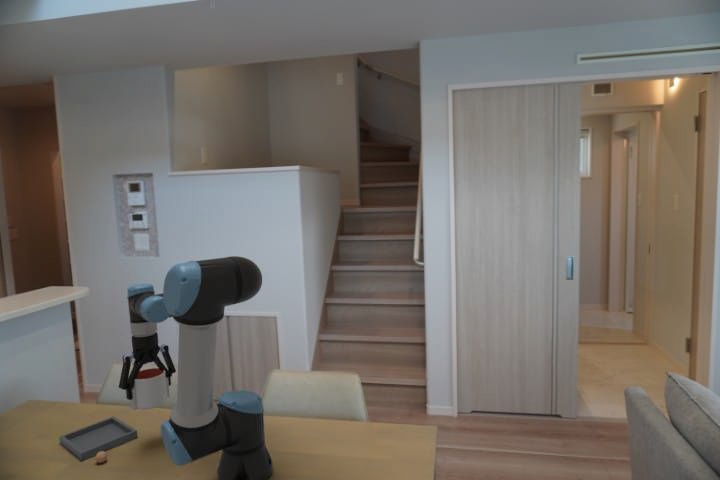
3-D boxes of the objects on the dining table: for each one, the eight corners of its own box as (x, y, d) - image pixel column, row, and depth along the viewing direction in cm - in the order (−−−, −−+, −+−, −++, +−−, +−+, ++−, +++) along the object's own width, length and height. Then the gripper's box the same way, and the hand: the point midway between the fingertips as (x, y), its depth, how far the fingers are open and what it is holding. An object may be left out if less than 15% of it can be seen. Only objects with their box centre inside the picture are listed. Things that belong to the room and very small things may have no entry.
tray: (137, 437, 157) (136, 430, 157) (81, 461, 144) (80, 453, 144) (114, 422, 168) (113, 416, 168) (60, 443, 155) (59, 436, 155)
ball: (109, 461, 144) (108, 451, 143) (98, 466, 141) (97, 456, 141) (105, 457, 146) (104, 447, 145) (93, 462, 143) (92, 452, 143)
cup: (155, 412, 146) (152, 380, 145) (126, 410, 148) (123, 379, 147) (174, 398, 156) (171, 368, 155) (146, 397, 158) (144, 367, 157)
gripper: (171, 323, 161) (177, 387, 163) (101, 341, 144) (108, 412, 146) (184, 326, 156) (189, 392, 158) (112, 345, 139) (119, 419, 141)
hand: (150, 402), depth 152 cm, fingers closed on cup, 10 cm apart
